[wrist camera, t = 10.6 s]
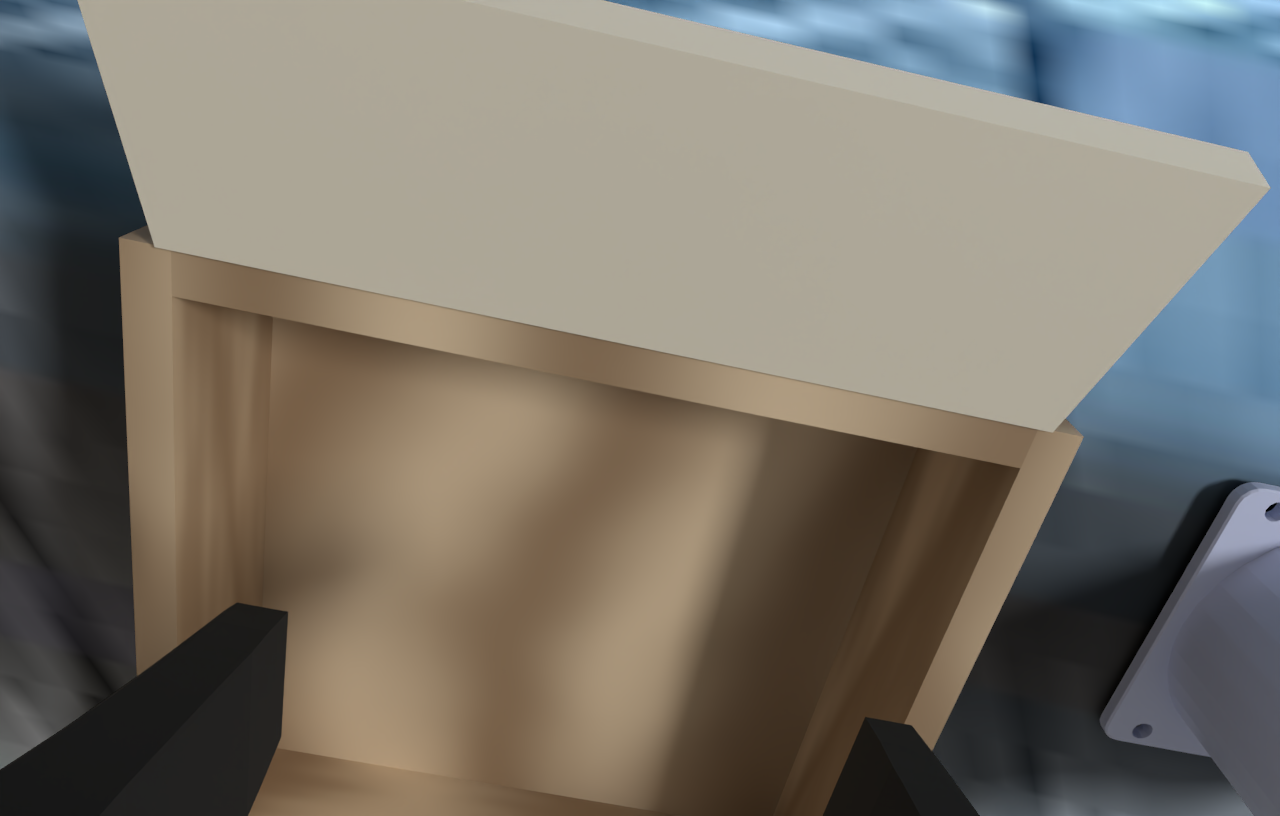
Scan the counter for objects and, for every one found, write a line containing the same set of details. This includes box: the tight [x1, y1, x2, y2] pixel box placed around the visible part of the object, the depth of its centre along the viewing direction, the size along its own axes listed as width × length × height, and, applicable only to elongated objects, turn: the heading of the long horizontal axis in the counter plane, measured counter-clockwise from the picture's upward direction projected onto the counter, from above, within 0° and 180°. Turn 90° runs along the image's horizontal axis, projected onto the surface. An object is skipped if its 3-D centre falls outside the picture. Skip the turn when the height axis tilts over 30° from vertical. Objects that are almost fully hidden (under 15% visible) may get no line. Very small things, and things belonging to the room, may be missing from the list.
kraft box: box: [119, 225, 1083, 816], centre depth 20 cm, size 16×16×5 cm
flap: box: [78, 0, 1270, 433], centre depth 12 cm, size 15×5×1 cm, turn 78°
